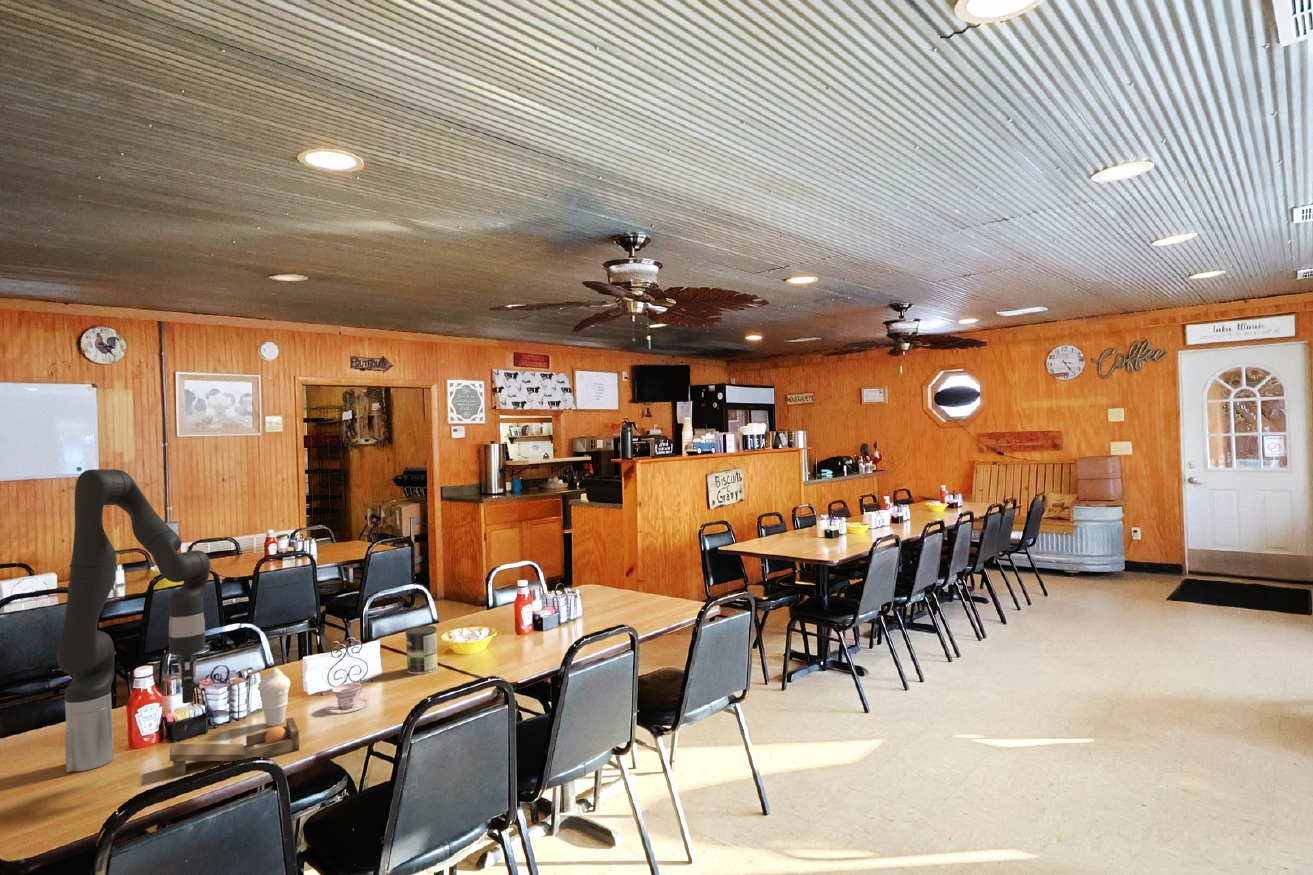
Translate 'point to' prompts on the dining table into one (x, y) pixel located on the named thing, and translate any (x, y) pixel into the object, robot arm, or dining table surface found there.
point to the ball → (275, 735)
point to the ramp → (203, 754)
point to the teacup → (347, 698)
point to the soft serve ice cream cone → (274, 696)
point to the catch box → (260, 748)
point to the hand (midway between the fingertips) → (187, 697)
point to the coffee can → (421, 650)
